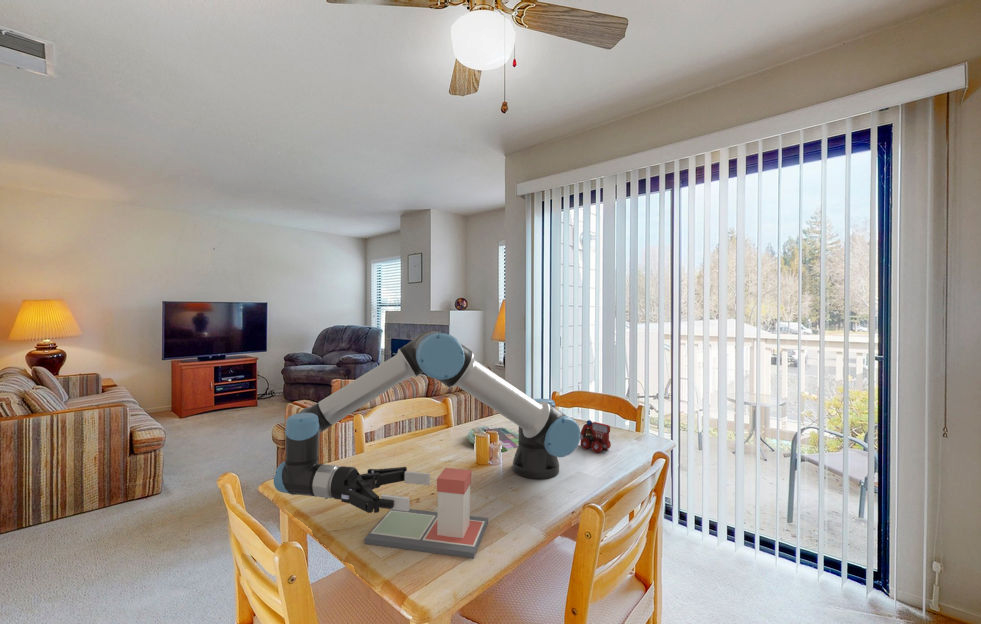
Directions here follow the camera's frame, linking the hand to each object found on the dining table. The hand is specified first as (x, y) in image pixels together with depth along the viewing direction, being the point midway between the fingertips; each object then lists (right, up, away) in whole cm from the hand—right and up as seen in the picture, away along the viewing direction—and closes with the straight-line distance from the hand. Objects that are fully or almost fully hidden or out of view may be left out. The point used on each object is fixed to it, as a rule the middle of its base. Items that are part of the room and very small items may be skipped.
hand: (420, 491), depth 100 cm
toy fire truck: (+56, -10, +61) cm, 83 cm away
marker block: (+8, -8, -1) cm, 12 cm away
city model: (+19, -9, +66) cm, 69 cm away
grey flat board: (+2, -10, 0) cm, 10 cm away
